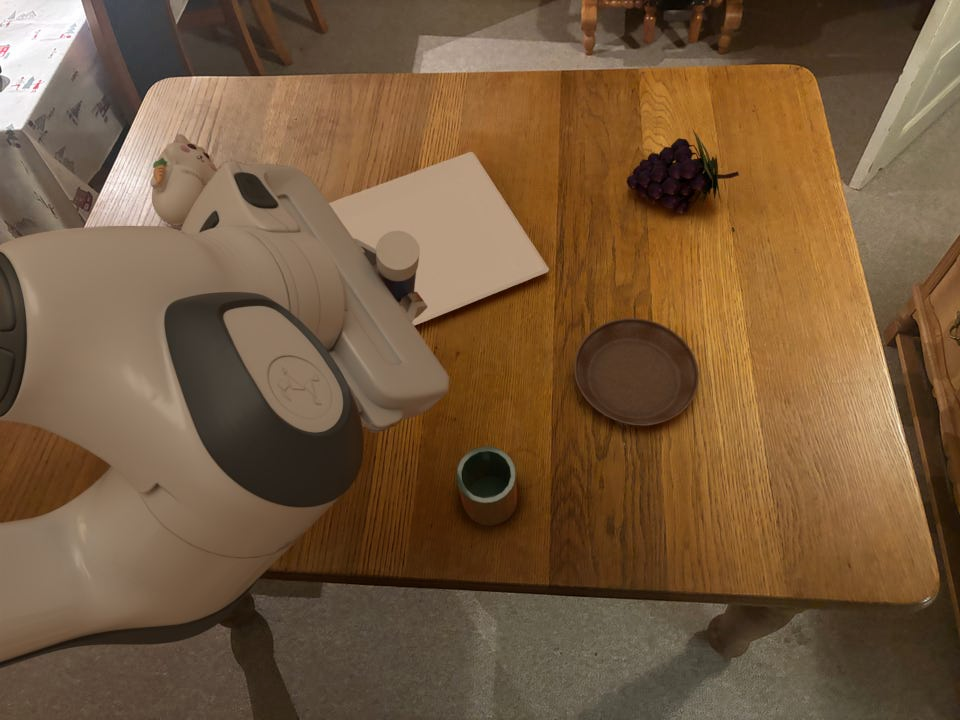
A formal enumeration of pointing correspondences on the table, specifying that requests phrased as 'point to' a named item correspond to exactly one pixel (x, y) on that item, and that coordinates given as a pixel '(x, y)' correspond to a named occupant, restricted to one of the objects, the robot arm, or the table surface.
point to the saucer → (636, 371)
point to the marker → (398, 262)
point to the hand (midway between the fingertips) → (402, 284)
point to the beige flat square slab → (447, 232)
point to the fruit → (677, 175)
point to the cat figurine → (179, 179)
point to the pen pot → (487, 485)
